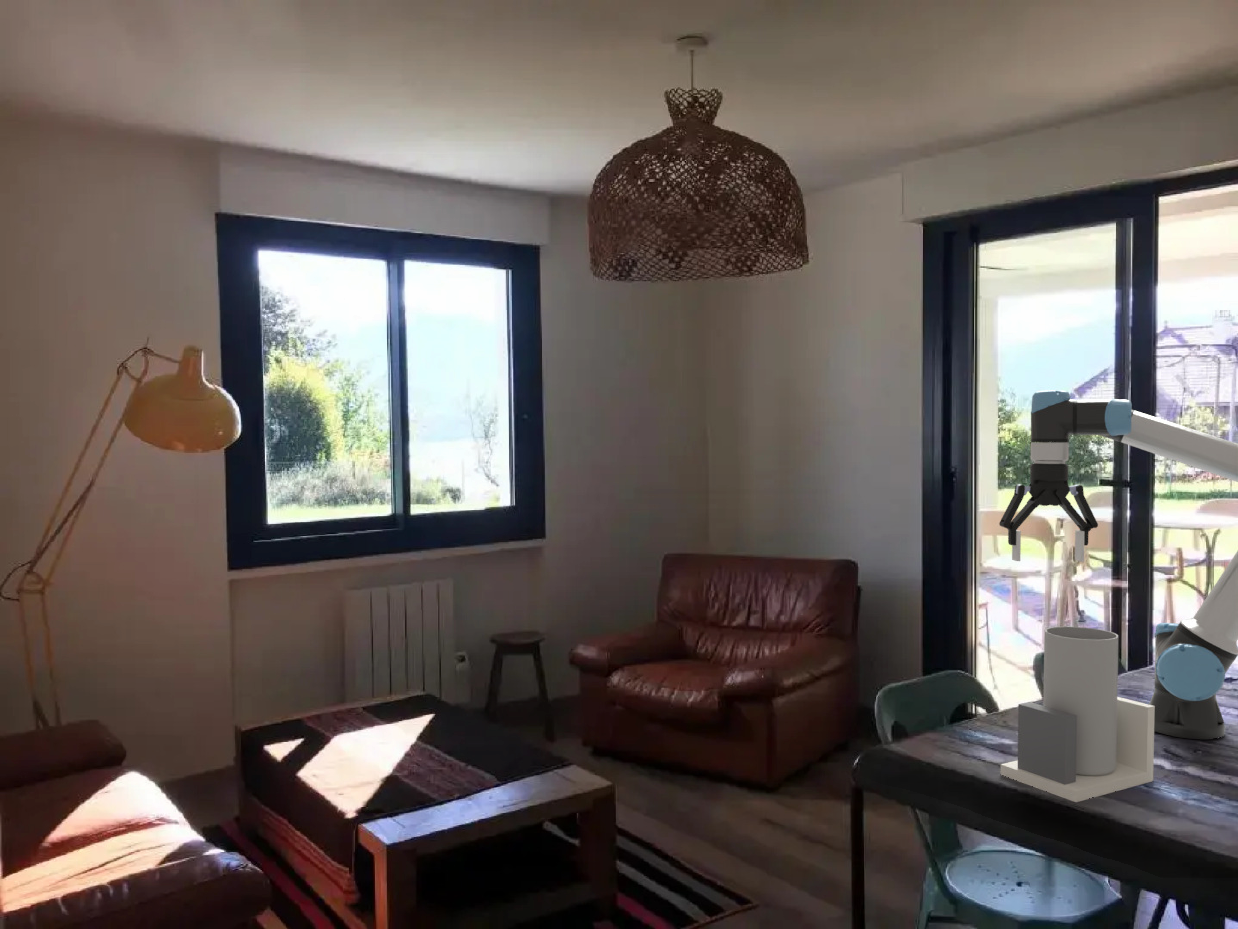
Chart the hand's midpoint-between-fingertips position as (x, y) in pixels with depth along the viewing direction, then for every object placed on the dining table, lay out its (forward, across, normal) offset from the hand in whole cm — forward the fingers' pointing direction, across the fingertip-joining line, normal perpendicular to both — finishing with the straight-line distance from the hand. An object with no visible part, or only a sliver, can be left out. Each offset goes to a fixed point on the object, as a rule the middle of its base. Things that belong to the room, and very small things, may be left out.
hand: (1047, 560), depth 215 cm
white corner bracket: (+37, +7, +31) cm, 49 cm away
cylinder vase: (+35, +6, +30) cm, 46 cm away
